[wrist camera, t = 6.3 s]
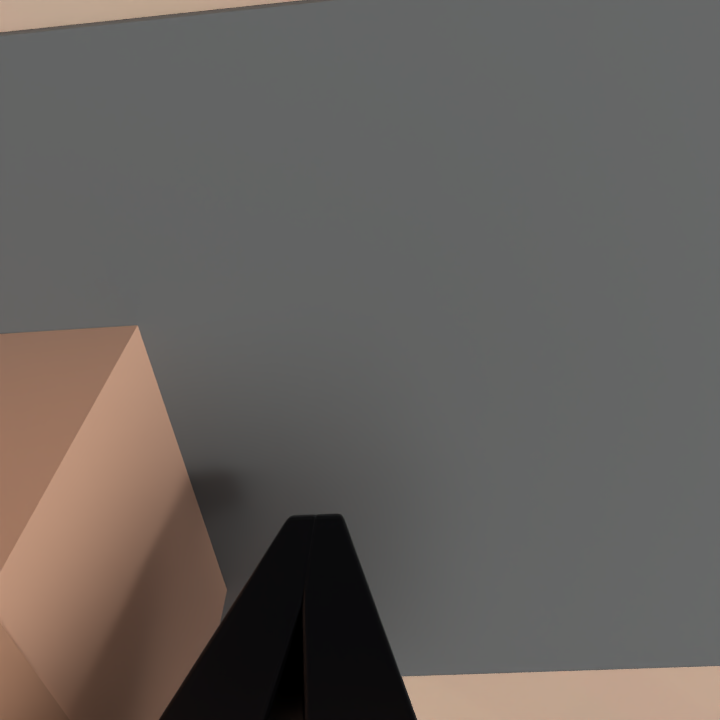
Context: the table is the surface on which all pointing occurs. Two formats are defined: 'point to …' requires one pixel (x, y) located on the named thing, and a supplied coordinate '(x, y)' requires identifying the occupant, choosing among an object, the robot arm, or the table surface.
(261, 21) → the runner mat
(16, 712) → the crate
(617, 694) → the table surface
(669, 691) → the table surface
